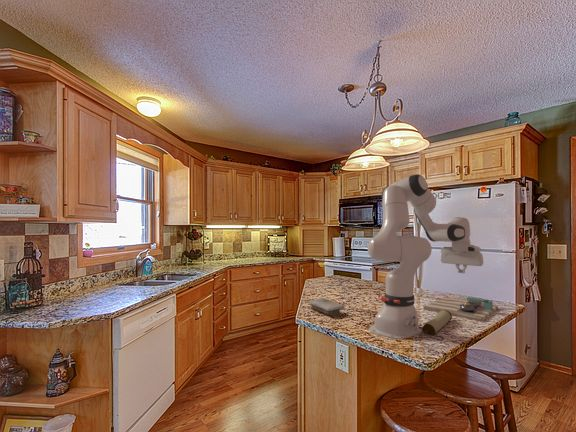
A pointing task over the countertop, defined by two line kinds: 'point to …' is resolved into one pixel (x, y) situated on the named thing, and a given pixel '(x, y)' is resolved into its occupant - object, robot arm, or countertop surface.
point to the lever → (469, 306)
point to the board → (454, 308)
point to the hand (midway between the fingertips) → (461, 272)
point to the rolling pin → (437, 322)
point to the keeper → (486, 302)
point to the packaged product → (326, 306)
